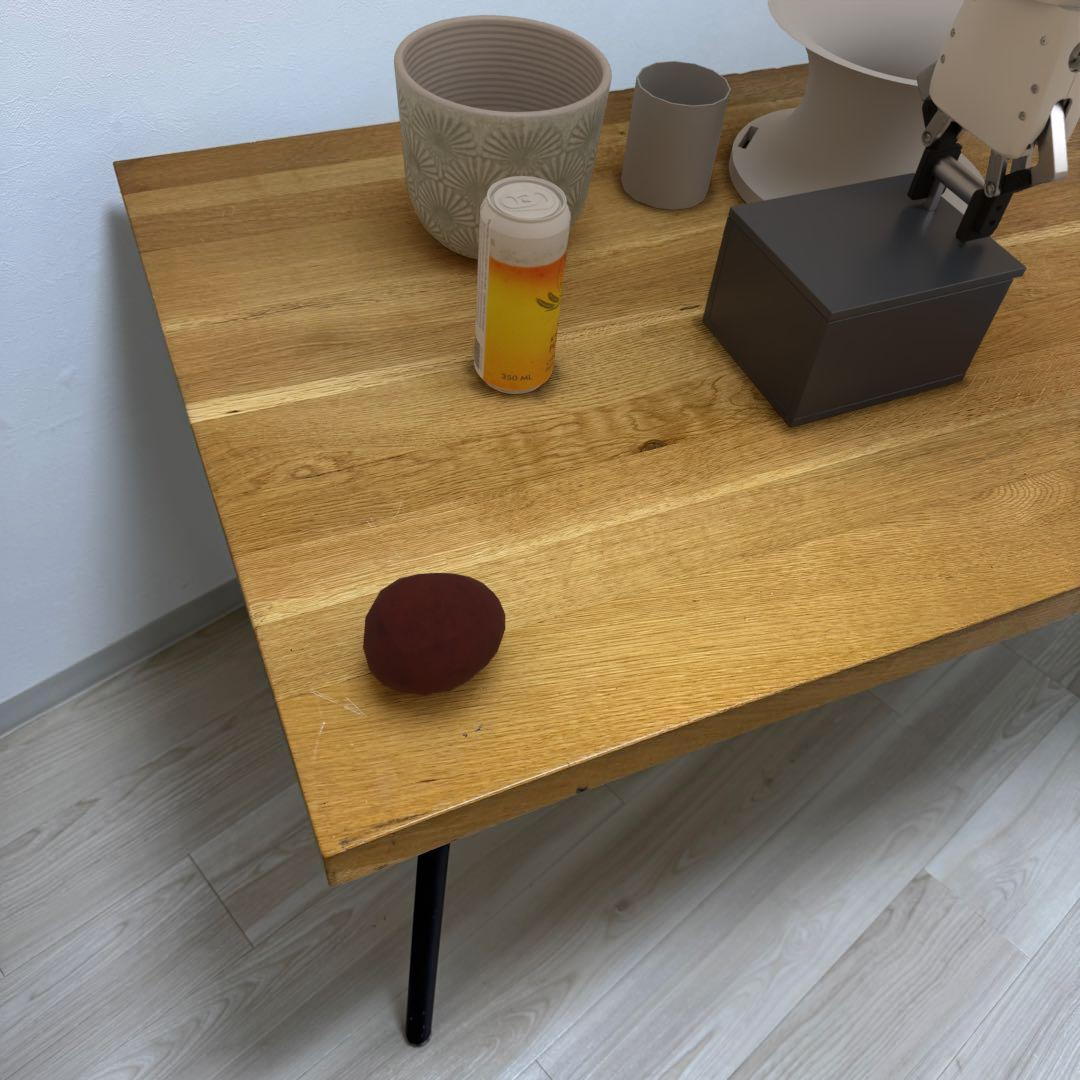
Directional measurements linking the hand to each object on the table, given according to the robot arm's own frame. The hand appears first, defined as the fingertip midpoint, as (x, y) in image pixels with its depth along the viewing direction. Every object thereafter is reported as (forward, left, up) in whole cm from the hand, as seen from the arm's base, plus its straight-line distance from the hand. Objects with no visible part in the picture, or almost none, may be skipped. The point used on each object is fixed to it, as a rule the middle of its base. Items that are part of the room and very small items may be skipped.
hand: (949, 214), depth 78 cm
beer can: (+26, +21, -12) cm, 35 cm away
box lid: (+4, +5, -1) cm, 7 cm away
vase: (+10, -22, -12) cm, 26 cm away
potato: (+18, +47, -12) cm, 52 cm away
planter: (+36, +5, -12) cm, 38 cm away
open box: (+5, +5, -11) cm, 13 cm away
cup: (+26, -11, -12) cm, 30 cm away
